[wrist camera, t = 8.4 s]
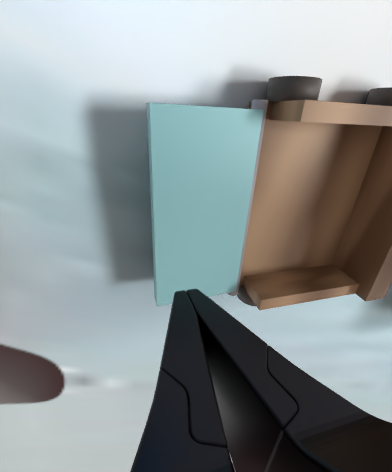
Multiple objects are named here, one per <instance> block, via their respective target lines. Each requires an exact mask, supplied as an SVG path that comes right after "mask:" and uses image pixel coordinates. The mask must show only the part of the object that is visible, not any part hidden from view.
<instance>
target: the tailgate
mask: <svg viewBox="0 0 392 472" xmlns="http://www.w3.org/2000/svg"><path fill="white" fill-rule="evenodd" d="M267 106H268V100H260V99H253V100H252V106H251V109H242V108H226V107H210V106H194V105H178V104H162V103H147V123H148V147H149V171H150V195H151V219H152V244H153V268H154V292H155V300H156V304H157V306H161V305H166V304H171V303H173V298H174V293H175V292H176V291H181V290H185V291H187V290H189V289H198V290H200V291H201V292H202V293H203V294H205V295H206V296H207V297H208V296H213V295H218V294H224V293H228V294H229V295H232V296H235V295H237V294H238V289H239V283H240V276H241V270H242V264H243V257H244V251H245V245H246V238H247V232H248V226H249V219H250V213H251V207H252V200H253V194H254V188H255V182H256V175H257V169H258V163H259V156H260V150H261V144H262V137H263V131H264V125H265V118H266V112H267Z"/></svg>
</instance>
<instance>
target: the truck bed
mask: <svg viewBox="0 0 392 472" xmlns="http://www.w3.org/2000/svg"><path fill="white" fill-rule="evenodd" d="M321 83H322V79H320V78H316V77H306V76H283V77H274V78H270V79H269V82H268V88H267V95H266V100H268V106H267V112H266V118H265V125H264V131H263V137H262V144H261V150H260V156H259V163H258V169H257V175H256V182H255V188H254V194H253V200H252V207H251V213H250V219H249V226H248V232H247V238H246V245H245V251H244V257H243V264H242V270H241V276H240V283H239V289H238V294H237V297H238V298H239V299H240V300H241V301H242V302H244V303H246V304H248V305H251V306H257V308H258V309H259V310H263V309H269V308H275V307H280V306H286V305H292V304H298V303H303V302H309V301H315V300H320V299H326V298H332V297H338V296H343V295H349V294H357V295H358V296H359V297H361V298H362V299H363V300H364V301H370V300H375V299H380V298H384V297H385V295H386V293H387V291H388V289H389V287H390V285H391V283H392V88H376V89H371V90H370V91H369V94H368V97H367V100H366V104H355V103H342V102H329V101H317V99H318V95H319V91H320V87H321ZM251 106H252V102H250V105H249V109H251Z"/></svg>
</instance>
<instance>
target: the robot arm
mask: <svg viewBox="0 0 392 472" xmlns="http://www.w3.org/2000/svg"><path fill="white" fill-rule="evenodd" d="M229 453H230V454H229ZM230 455H231V458H232V461H233V464H234V467H235V470H236V472H392V423H390V422H387V421H384V420H381V419H379V418H377V417H375V416H372V415H370V414H368V413H367V412H365V411H363V410H361V409H360V408H358V407H356V406H355V405H353V404H352V403H350V402H349V401H347V400H346V399H344V398H343V397H341V396H340V395H338V394H337V393H335V392H334V391H332V390H331V389H329V388H328V387H326V386H325V385H323V384H322V383H320V382H319V381H317V380H316V379H314V378H313V377H311V376H310V375H308V374H307V373H305V372H304V371H302V370H301V369H300V368H298V367H297V366H295V365H294V364H292V363H291V362H290V361H288V360H287V359H286V358H284V357H283V356H282V355H281V354H279V353H278V352H277V351H275V350H274V349H273V348H272V347H270V346H268V345H267V344H266V343H265V342H264V341H263V340H261V339H260V338H259V337H258V336H256V335H255V334H254V333H253V332H251V331H250V330H249V329H248V328H246V327H245V326H244V325H243V324H241V323H240V322H239V321H237V320H236V319H235V318H234V317H232V316H231V315H230V314H229V313H227V312H226V311H225V310H224V309H222V308H221V307H220V306H219V305H217V304H216V303H215V302H214V301H212V300H211V299H210V298H208V297H207V296H206V295H205V294H203V293H202V292H201V291H200V290H198V289H189V290H187V291H185V290H181V291H176V292H175V293H174V298H173V303H172V308H171V314H170V319H169V324H168V329H167V335H166V340H165V345H164V350H163V355H162V361H161V366H160V371H159V376H158V381H157V386H156V390H155V394H154V399H153V403H152V406H151V409H150V413H149V416H148V419H147V423H146V426H145V429H144V432H143V435H142V438H141V441H140V444H139V447H138V450H137V453H136V456H135V459H134V462H133V465H132V468H131V471H130V472H234V468H233V465H232V461H231V458H230Z"/></svg>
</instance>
